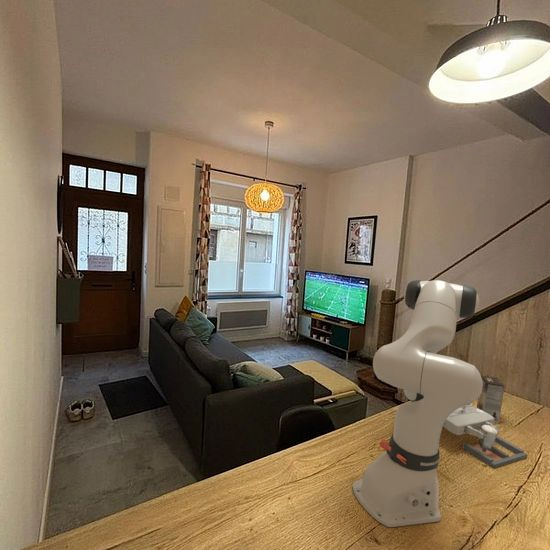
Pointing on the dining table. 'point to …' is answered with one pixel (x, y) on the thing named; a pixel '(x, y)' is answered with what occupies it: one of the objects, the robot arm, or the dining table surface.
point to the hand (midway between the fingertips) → (490, 434)
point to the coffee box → (491, 397)
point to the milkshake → (488, 439)
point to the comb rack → (497, 453)
